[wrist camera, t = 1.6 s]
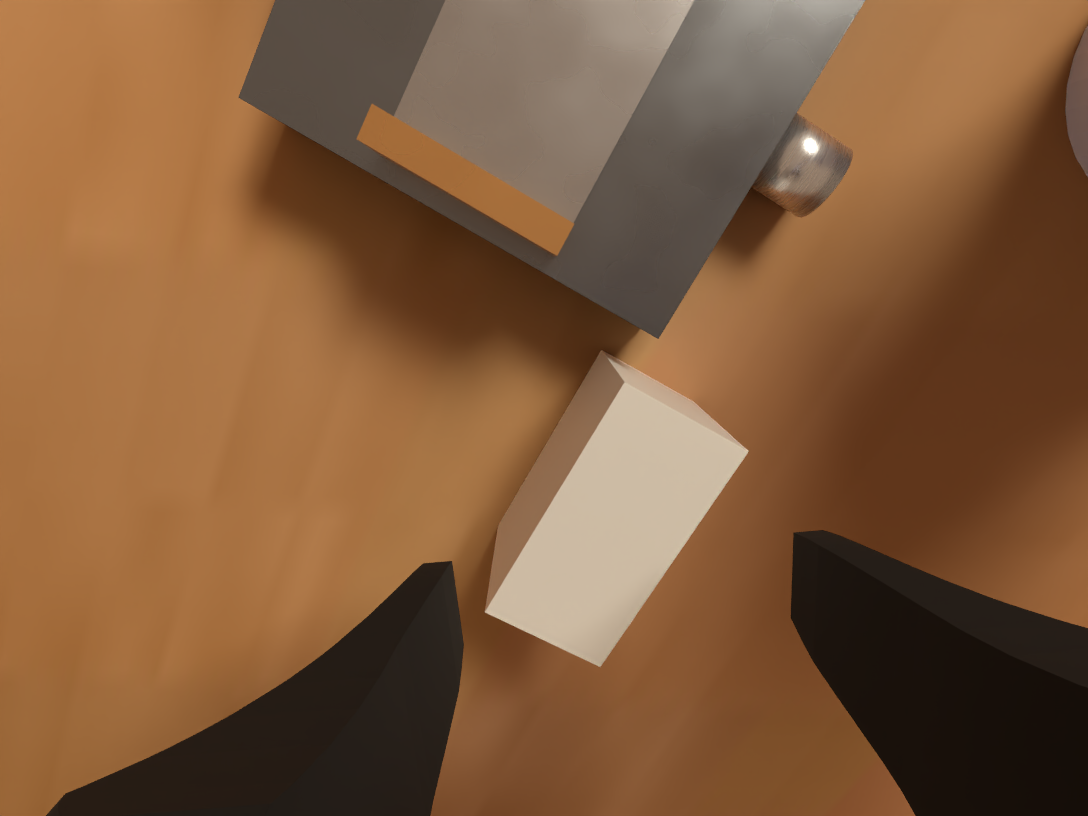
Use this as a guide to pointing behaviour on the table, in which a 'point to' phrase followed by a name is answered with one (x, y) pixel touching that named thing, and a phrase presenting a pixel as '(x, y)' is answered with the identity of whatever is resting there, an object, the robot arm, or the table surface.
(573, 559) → the block
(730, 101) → the motor housing
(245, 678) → the table surface
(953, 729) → the robot arm
